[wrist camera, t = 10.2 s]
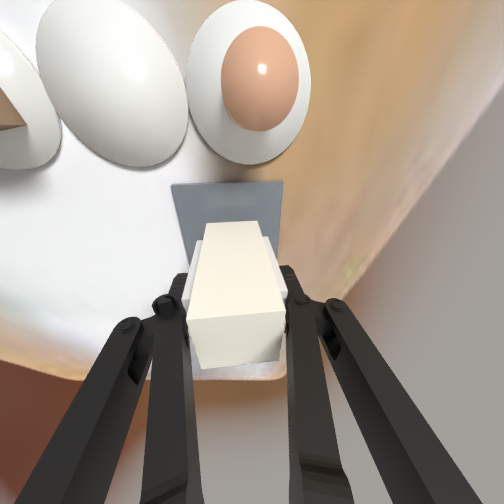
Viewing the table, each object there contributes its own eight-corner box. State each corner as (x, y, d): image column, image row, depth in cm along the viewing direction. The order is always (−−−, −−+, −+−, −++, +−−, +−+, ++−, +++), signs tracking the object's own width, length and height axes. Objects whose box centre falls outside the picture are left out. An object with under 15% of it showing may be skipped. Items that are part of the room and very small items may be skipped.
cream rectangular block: (205, 223, 17) (184, 320, 8) (257, 220, 17) (285, 310, 9) (212, 264, 19) (200, 370, 11) (256, 261, 19) (278, 360, 11)
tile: (192, 271, 22) (191, 273, 22) (172, 183, 17) (170, 185, 16) (275, 264, 23) (276, 267, 23) (282, 180, 18) (283, 181, 17)
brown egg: (224, 130, 15) (224, 131, 11) (219, 57, 12) (216, 24, 8) (275, 129, 15) (293, 131, 11) (279, 59, 13) (304, 27, 9)
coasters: (-41, 170, 14) (-47, 171, 14) (-197, -22, 9) (-212, -27, 9) (299, 162, 17) (301, 163, 17) (319, 7, 12) (322, 3, 12)
